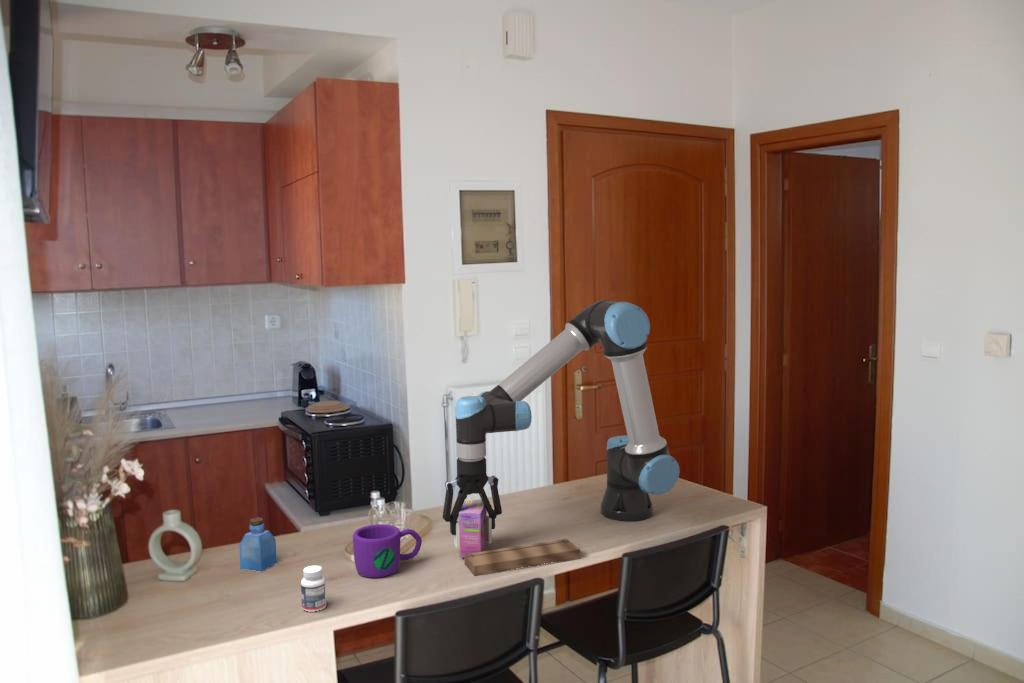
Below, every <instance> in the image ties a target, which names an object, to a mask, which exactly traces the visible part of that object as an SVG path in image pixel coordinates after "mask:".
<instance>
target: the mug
mask: <svg viewBox="0 0 1024 683" xmlns="http://www.w3.org/2000/svg"><path fill="white" fill-rule="evenodd" d="M408 535H410V536H412V537H413V538H414V539H415V541H416V543H415V545H414V548H413V550H412V552H410V553H406V554H405V553H404V554H402V553H401V538H403V537H405V536H408ZM422 541H423V540H422V537H421V536H420V535H419V533H418V532H417V531H415V530H414V529H411V528H405V529H403V530H400V529H399V528H398V527H397V526H395V525H391V524H385V523H384V524H380V523H378V524H377V523H376V524H369V525H366V526H365V525H364V526H362V527H359V528H357V529H356V530H355V531H354V532H353V534H352V546H353V547H352V548H353V560H354V565H355V569H356V571H357V573H358V574H359V575H360V576H363V577H365V578H372V579H375V578H376V579H377V578H385V577H388V576H390V575H393V574H394V573H395V572H397V570H398V569H399V567H400V560H401V561H407V560H410V559H413V558H414V557H416V556H418V554H419V552H420V550H421V547H422Z"/></svg>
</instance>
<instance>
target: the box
mask: <svg viewBox="0 0 1024 683" xmlns="http://www.w3.org/2000/svg"><path fill="white" fill-rule="evenodd" d="M485 516H488V512H487V510H486V508H485V505H484V504H483V502H482V499H481V500H478V499H477V500H474V499H473V500H472V499H471V500H469V499H467V500H466V499H465V501H464V503H463V506H462V509H461V511H460V512H459V516H458V522H459V548H458V549H459V558H461V559H464V554H470V553H476V552H483V551H486V550H485V549H486V547H487V545H488V542H487V541H486V523H485Z"/></svg>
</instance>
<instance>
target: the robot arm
mask: <svg viewBox="0 0 1024 683" xmlns="http://www.w3.org/2000/svg"><path fill="white" fill-rule="evenodd" d="M650 331H651V324H650V320H649V317H648V315H647V313H646V312H645V310H643V308H642V307H640V306H638V305H637V304H633V303H630V302H628V301H616V300H615V301H614V300H608V299H604V300H599V301H596V302H594V303H592V304H590V305H588V306H587V307H586V308H584V309H582V310H581V311H580V312H578V314H576V315H575V316H574V317H573V318H571V319H570V320H569V321H568V322H566V323H565V325H564V330H562V331H561V332H560V333H559V334H558V335H556V337H554V338H553V339H552V340H551V341H549V342H548V343H547V344H546V345H545V346H543V347H542V348H540V350H538V352H536V353H535V354H534V355H532V356H531V357H530V358H528V360H526V361H525V362H524V363H523V364H521V365H520V366H519V367H518V368H517V369H515V370H514V371H513V372H512V373H510V375H508V376H507V377H506V378H505V379H503V380H502V381H501V382H500V383H499V384H498V385H496V386H495V387H493V388H492V389H491V390H489V391H482V392H480V393H479V394H478V395H466V396H461V397H459V398H458V399H457V400H456V402H455V415H454V418H455V433H456V435H455V436H456V457H457V459H456V477H455V479H454V480H451V481H450V480H448V481H447V480H446V481H445V483H444V486H445V498H444V503H443V511H442V519H443V520H444V521H445V522H446V523H449V532H450V534H451V535H452V536H453V545H454V546H455V548H456V549H459V512H460V511H461V509H462V507H463V505H464V503H465V501H466V499H467V497H468V495H469V496H470V495H472V494H473V495H474V494H475V495H479V497H480V499H481V500H482V502H483V504H484V505H485V508H486V510H487V516H485V523H486V541H487V544H493V534H492V532H493V530H495V529H496V518H497V516H499V515H502V513H503V510H502V509H503V508H502V504H501V500H500V494H499V488H498V486H499V478H498V477H496V476H495V475H492V476H488V475H487V458H486V456H487V442H486V441H487V434H493V433H506V432H507V433H508V432H519V431H524V430H528V429H529V428H530V427H531V423H532V409H531V407H530V405H529V403H528V402H526V401H525V400H524V399H525V398H527V397H528V396H529V395H530V394H531V393H532V392H534V391H535V390H536V389H538V388H539V386H541V385H542V384H544V383H545V381H547V380H548V379H549V378H551V377H553V375H554V374H556V372H558V371H559V370H560V369H561V368H562V367H564V366H565V365H566V364H568V363H569V362H570V361H571V360H573V359H574V358H575V357H576V356H577V355H578V354H580V353H581V352H582V351H589V350H590V349H591V348H593V347H594V346H595V345H597V344H600V343H601V346H602V351H603V355H604V357H605V358H607V359H608V360H610V362H611V366H612V371H613V375H614V380H615V384H616V389H617V393H618V398H619V403H620V406H621V407H620V408H621V412H622V416H623V420H624V426H625V429H626V434H625V435H616V436H612V437H610V438H608V439H607V443H606V489H605V491H604V494H603V498H602V500H601V503H600V514H601V515H602V516H604V517H605V518H609V519H611V520H616V521H625V522H636V521H642V520H646V519H649V518H650V517H652V515H653V504H652V501H651V497H650V495H653V496H662V495H664V494H667V493H669V492H670V491H671V490H672V489H673V488H674V487H675V485H676V484H677V483H678V481H679V480H678V479H679V478H680V465H679V463H678V462H677V460H676V459H675V458H674V456H672V455H670V451H669V447H668V442H667V439H665V438H664V437H663V436H660V432H659V426H658V422H657V418H656V413H655V408H654V404H653V403H654V402H653V398H652V392H651V388H650V384H649V379H648V378H649V377H648V374H647V368H646V365H645V359H644V354H645V351H646V350H647V349H648V345H647V340H648V336H649V335H650ZM487 483H488V484H489V487H490V493H491V498H492V504H493V506H492V504H491V502H490V500H489V498H488V496H487V493H486V492H487V491H485V490H486V489H485V486H486V484H487ZM456 486H458V488H459V490H458V493H457V497H456V500H455V502H454V505H453V499H454V490H455V489H456ZM452 506H453V508H452Z"/></svg>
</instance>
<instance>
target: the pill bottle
mask: <svg viewBox="0 0 1024 683" xmlns="http://www.w3.org/2000/svg"><path fill="white" fill-rule="evenodd" d="M302 573H303V574H302V575H303V577H302V579H301V580H300V590H301V591H300V592H301V594H300V595H301V609H302V610H303V611H304V610H305V611H304V612H306V611H308V612H307V613H316V612H315V611H317V612H320V611H323V610H324V609H325V608H326V607H327V593H326V591H327V590H326V578H325V577H324V576H323V568H322V566H321V565H316V564H315V565H309V566H305V567H304V568H303V572H302ZM319 610H320V611H319Z"/></svg>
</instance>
